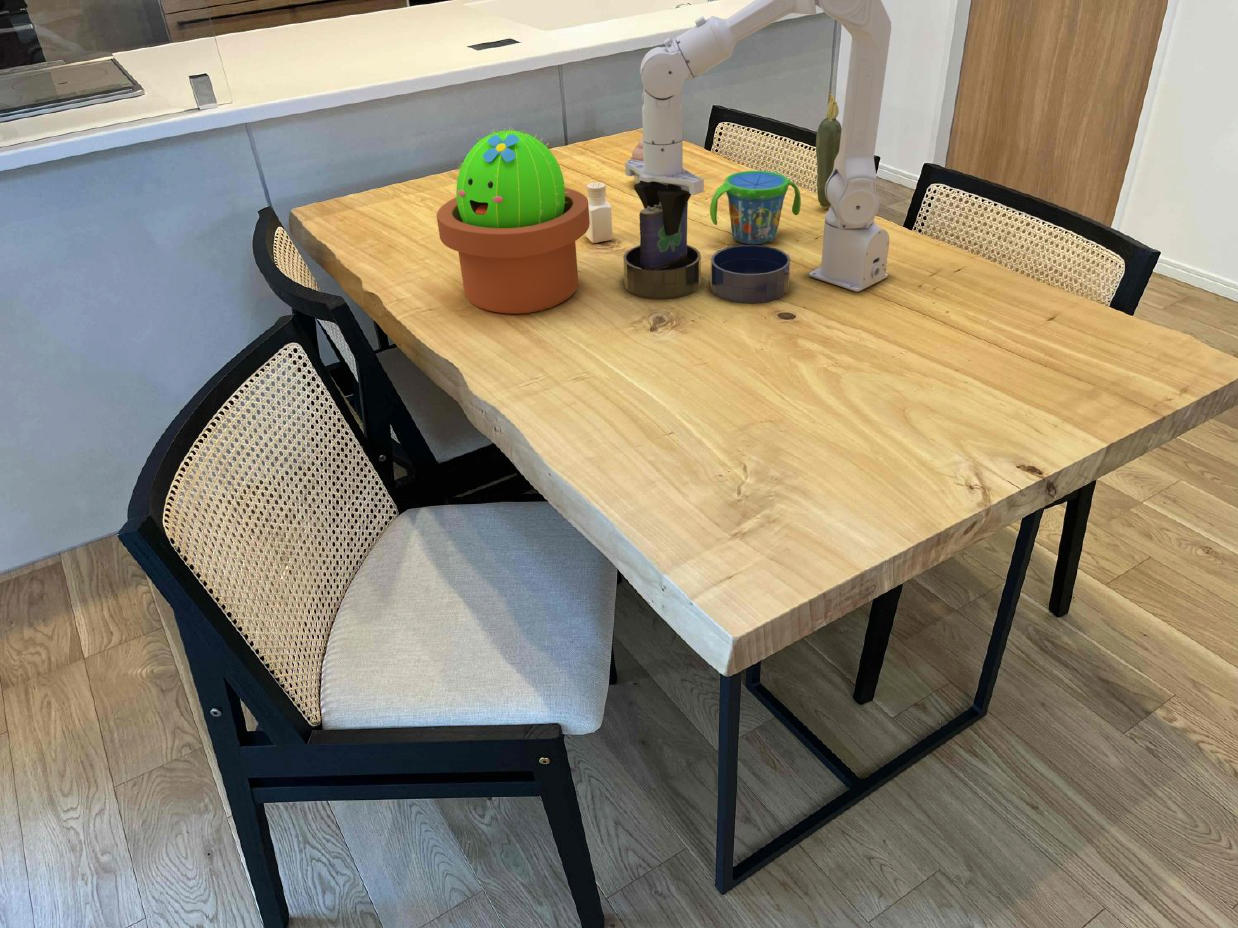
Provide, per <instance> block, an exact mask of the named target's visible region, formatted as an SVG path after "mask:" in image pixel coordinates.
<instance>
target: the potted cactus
mask: <svg viewBox="0 0 1238 928" xmlns="http://www.w3.org/2000/svg"><path fill="white" fill-rule="evenodd" d="M508 128H509V129H508V130H506V129H504V130H498V129H496V130H495V128H493V129H491V133H489V134H487V135H486V136H485V137H482V138H481V137H480V136H478V138H477V140H478V142H477V143H475V144H474V145H473V146H472V148H469V147H468V149H469V150H470V151H469V152H468V153H467V155H466V156H465V158H464V159H463V162H460V161H459V163H457V167H456V170H459V172H458V174H457V175H455V176H456V177H455V178H456V189H455V193H456V196H455V197H453V198H452V199H450V200H448V201H446V202H445V203H444V204H443V205H441V206H440V208H439V209H438V210H437V211H436V222H437V229H438V234H439V239H440V241H441V243H442V244H443V245H444V246H445V247H447V248H449V249H451V250H453V251H456V252H458V258H459V259H458V260H459V266H460V273H461V279H462V286H463V292H464V295H465V298H466V300H467V301H468V302H469V303H470V304H471V305H473V306H475V307H476V308H480V309H483V310H485V311H489V312H494V313H500V314H514V315H515V314H529V313H536V312H540V311H544V310H549V309H551V308H553V307H556V306H557V305H560V304H562V303H563V302H565V301H567V300H568V299H570V298H571V297H572V296H573V295H574V294H575V293H576V291H577V289H578V286H579V273H578V272H579V271H578V260H577V259H578V258H577V247H576V245H577V244H576V241H578V240H579V239H581V238H582V237H583V236H585V235H586V232H587V230H588V228H589V225H590V220H589V205H588V197H586V195H585V194H583V193H582V192H580V191H577V190H575V189H572V188H569V187H570V185H571V184H570V185H569V184H565V180H564V179H566V176H564V175H563V172H565V171H566V169H565V168H564V167H562V168H561V165H560V164H559V162H558V160H557V159H556V157H555V155H554V153H553V152H552V150H550V148H548V146H549V143H546V144H544V142H543V141H542V140H543V136H542V137H541V138H540V140H539V139H538V138H536V137H537V136H538V133H536V135H535V136H532V135H531V134H529V133H527V132H524V131H523V130H513V129H511V127H510V126H508ZM458 165H459V166H458ZM567 179H569V178H567Z"/></svg>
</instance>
